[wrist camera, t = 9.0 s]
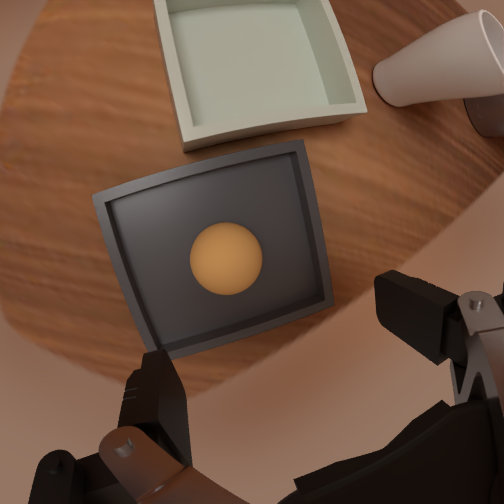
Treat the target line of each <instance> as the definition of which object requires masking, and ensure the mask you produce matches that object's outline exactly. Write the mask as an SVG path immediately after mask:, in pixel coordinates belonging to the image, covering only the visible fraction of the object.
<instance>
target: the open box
mask: <svg viewBox="0 0 504 504" xmlns="http://www.w3.org/2000/svg"><path fill="white" fill-rule="evenodd" d="M152 1H153V12H154V20H155V25H156V30H157V36H158V41H159V46H160V51H161V56H162V61H163V66H164V71H165V76H166V80H167V85H168V90H169V94H170V99H171V103H172V108H173V112H174V116H175V121H176V125H177V129H178V133H179V138H180V142H181V146H182V150H183V153H184V152H188V151H191V150H195V149H199V148H203V147H207V146H211V145H216V144H220V143H224V142H229V141H233V140H238V139H243V138H247V137H252V136H257V135H263V134H268V133H274V132H279V131H285V130H291V129H298V128H304V127H311V126H319V125H327V124H335V123H338V122H341V121H344V120H347V119H350V118H352V117H355V116H358V115H361V114H364V113H367V108H366V105H365V101H364V98H363V94H362V91H361V87H360V84H359V81H358V77H357V74H356V71H355V68H354V65H353V62H352V59H351V56H350V53H349V51H348V48H347V45H346V42H345V40H344V37H343V34H342V32H341V29H340V27H339V24H338V22H337V19H336V17H335V15H334V12H333V10H332V8H331V5H330V3H329V1H328V0H152Z"/></svg>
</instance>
